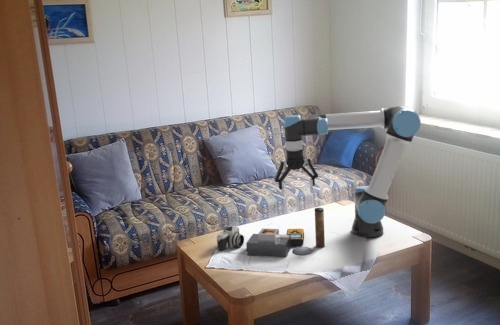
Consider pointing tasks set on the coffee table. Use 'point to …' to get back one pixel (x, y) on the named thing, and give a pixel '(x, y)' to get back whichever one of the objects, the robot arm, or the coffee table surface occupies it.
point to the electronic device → (296, 236)
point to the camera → (229, 238)
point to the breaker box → (269, 244)
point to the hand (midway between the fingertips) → (297, 194)
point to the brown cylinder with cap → (319, 227)
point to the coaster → (302, 250)
